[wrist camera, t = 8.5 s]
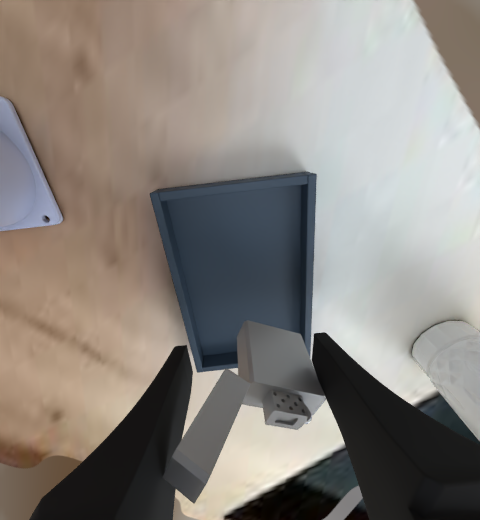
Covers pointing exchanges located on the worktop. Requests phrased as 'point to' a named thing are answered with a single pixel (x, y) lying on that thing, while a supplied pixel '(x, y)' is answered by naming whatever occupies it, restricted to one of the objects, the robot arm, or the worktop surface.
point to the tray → (239, 259)
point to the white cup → (453, 367)
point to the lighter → (248, 400)
